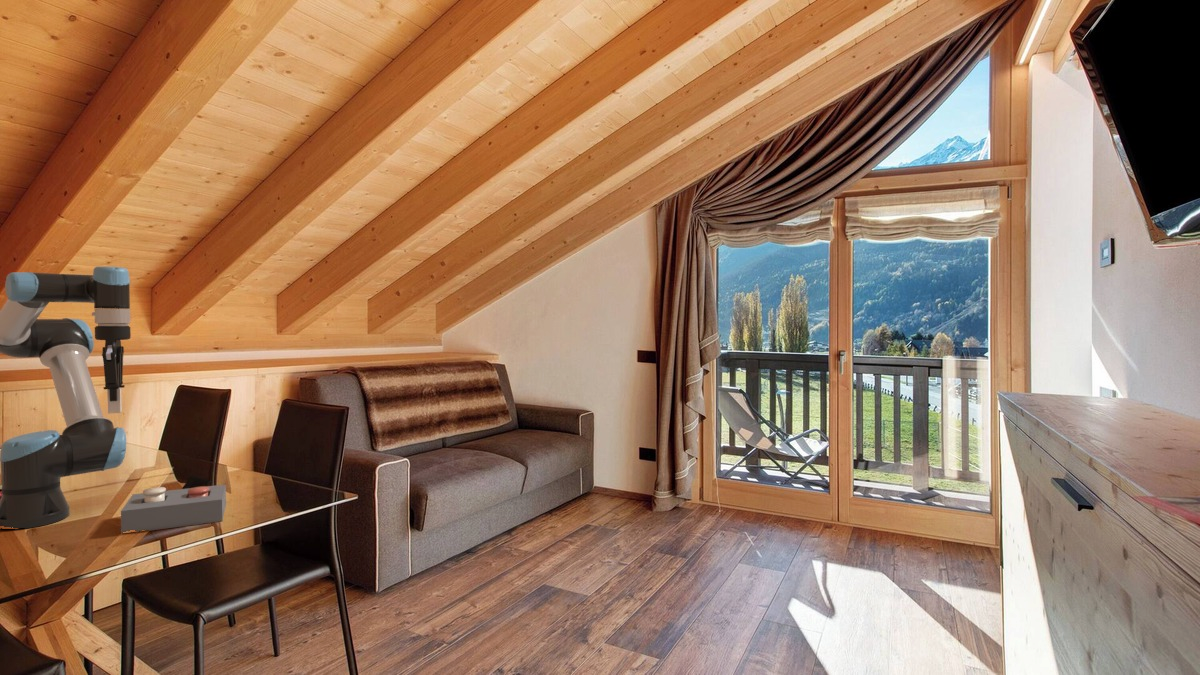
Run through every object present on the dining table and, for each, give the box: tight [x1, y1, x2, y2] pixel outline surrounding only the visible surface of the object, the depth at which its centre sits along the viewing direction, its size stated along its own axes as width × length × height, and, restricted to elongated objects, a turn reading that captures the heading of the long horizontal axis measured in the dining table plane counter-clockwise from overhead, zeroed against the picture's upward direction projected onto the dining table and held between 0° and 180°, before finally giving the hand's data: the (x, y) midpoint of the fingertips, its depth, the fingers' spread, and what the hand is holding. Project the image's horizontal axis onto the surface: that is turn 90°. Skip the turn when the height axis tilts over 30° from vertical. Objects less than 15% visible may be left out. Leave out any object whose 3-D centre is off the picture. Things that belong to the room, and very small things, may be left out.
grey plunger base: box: [120, 484, 227, 533], centre depth 170 cm, size 16×22×6 cm
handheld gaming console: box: [181, 475, 212, 489], centre depth 187 cm, size 12×7×10 cm
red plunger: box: [188, 486, 209, 498], centre depth 172 cm, size 5×5×7 cm
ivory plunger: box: [142, 486, 167, 503], centre depth 167 cm, size 5×5×7 cm
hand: (114, 412), depth 166 cm, fingers closed
